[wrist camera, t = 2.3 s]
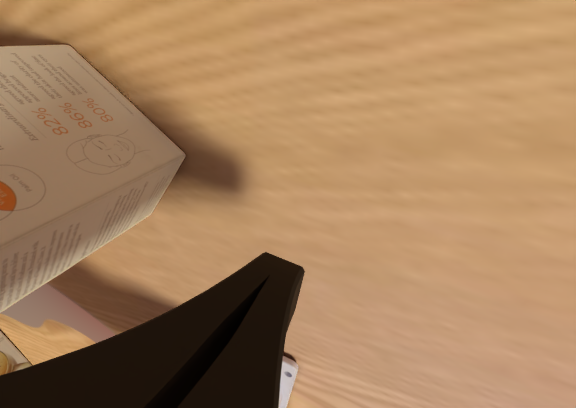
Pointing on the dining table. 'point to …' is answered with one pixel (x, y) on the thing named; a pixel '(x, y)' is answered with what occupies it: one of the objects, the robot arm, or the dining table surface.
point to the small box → (69, 165)
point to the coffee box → (10, 357)
